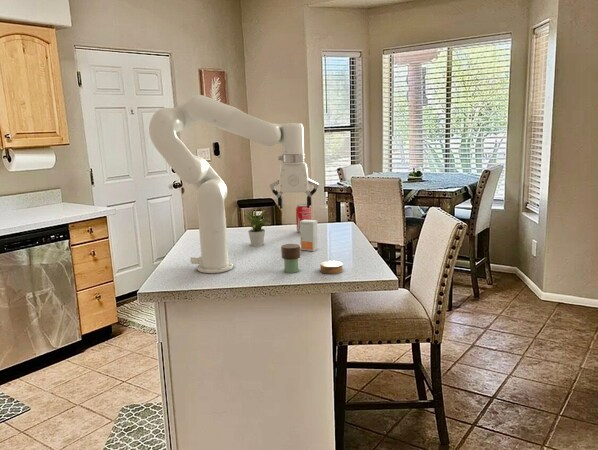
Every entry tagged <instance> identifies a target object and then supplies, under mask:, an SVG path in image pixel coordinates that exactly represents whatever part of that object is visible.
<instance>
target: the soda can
mask: <svg viewBox="0 0 598 450" xmlns="http://www.w3.org/2000/svg"><path fill="white" fill-rule="evenodd" d="M295 219H296V220H295V222H296V231H297V232H298V233H299V234H300V221H302V220H312V206H310V208H307V203H298V204H296V207H295Z"/></svg>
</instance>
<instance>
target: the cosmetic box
mask: <svg viewBox="0 0 598 450" xmlns="http://www.w3.org/2000/svg"><path fill="white" fill-rule="evenodd" d="M318 233H319V232H318V220H317V219H316V220H315V219H311V220H302V221H300V233H299V234H300V235H299V237H300V240H299V241H300V251H308V252H309V251H310V252H315V251H317V250H318V249H319V246H318V245H319V241H318V239H319V238H318V237H319V235H318Z"/></svg>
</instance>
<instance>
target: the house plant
mask: <svg viewBox="0 0 598 450" xmlns="http://www.w3.org/2000/svg"><path fill="white" fill-rule="evenodd" d="M266 210H267V209H266V208H265V209H264V208H263V209H261V210H260V211H259V212H258V214H257V206H256V207H255V210H254V211H253V214H252V212H249V213H248V211H247V212H246V211H245V212H244V215H245V216H246V218H247V219H248V220H249V222H250V224H249V223H248V222H243V223H242V225H243V226H244V227H245V226H246V225H247V226H249V227H250V228H251V229H248V231H247V232H248V236H249V240H250V246H252V247H261V246H263V245H264V243H265V235H266V230H265V229H264V228H263V227H264V226H266V227H268V225H270V226H271V224H270V222H267V221H269V220H271V218H265V219H263V217H265V215H267V214H268V213H270V211H268V212H267V213H266V214H265V212H266ZM240 213H241V214H242V212H241V211H239V214H240Z"/></svg>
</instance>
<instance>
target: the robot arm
mask: <svg viewBox="0 0 598 450" xmlns="http://www.w3.org/2000/svg"><path fill="white" fill-rule="evenodd" d="M201 123H203V124H206V125H210V126H212V127H215V128H218V129H219V130H223V131H225V132H228V133H230V134H234V135H237V136H240V137H242V138H245V139H248V140H250V141H252V142H255V143H258V144H261V145H263V146H266V147H272V146H275V145H278V144H281V151H282V153H281V155H279V156H278V157H277V159H278V161H281V162H282V163H280V165H279V175H278V176H279V177H278V180H276V181H274V182H272V183H271V184H269V188H270V190H271V191H272V194H274V195H275V196H276V197H277V206H278V207H279V209H280V210H282V209H283V207H284V201H283V194H284V193H304V194H305V195H307V196H306V204H307V208H310V207H312V196H313V195H315V193H316V192H317V190H318V188H319V186H320V183H318V182H316V181H314V180H312V179H310V178H309V170H308V164H307V163H306V162H305V139H304V138H305V137H304V136H305V135H304V134H305V133H304V125H303V124H302V123H300V122H286V123H274V122H269V121H267V120H264V119H261V118H258V117H255V116H253V115H251V114H248V113H247V112H245V111H242V110H241V109H240V108H237V107H235V106H232V105H229V104H227V103H225V102H224V103H223V101H222V102H221V101H218V100H216V99H214V98H211V97H208V96H206V95H203V94H193V95H191V96H190V97H189V98H188V100H187V101H186V102H184V103H182V104H179V105H177V106H174V107H162V108H160V109H158V110H156V111H155V112H154V113H153V115H152V116H151V119H150V122H149V126H148V135H149V138H150V140H151V143H152V145H153V146H154V148H155V149H156V150H157V152H158V153H159V154H160V155H161V157H162V158H163V159H164V160H165V161H166V163H167V164H168V165H169V167H170V168H171V169H172V170H173V171H174V172H175V174H176V175H177V176H178V178H179V179H180V180H181V181H182V182H183V183H184V184H187V185H192V186H193V187H194V188H195V189H196V193H195V205H196V209H197V219H198V228H199V229H198V230H199V231H198V232H199V243H200V244H199V245H200V256H199V257H193V256H191V257H190V259H189V260H190V261H189V262H190V263H191V264H192V265H196V264H197V265H198V266H197V271H198V272H199V273H204V274H219V273H224V272H228V271H230V270H232V269H233V268H234V264H233V263H232V262H231V261H229V249H228V248H229V247H228V234H227V218H226V209H225V200H226V198H227V196H228V188H227V185H226V184H225V182H224V181H223V178H221V177H220V175H219V174H218V173H217V172H216V171H215V170H214V168H213V167H212V166H211V165H210V164H209V162H208V161H206V159H205V158H203V157H202V156H199V155H195V154H193V153H192V152H191V151H190V149H189V148H188V147H187V145H186V144H185V143H184V142H183V141H182V140H181V139H180V138H179V137H178V135H177V133H179V132H182V131H185V130H187V129H189V128H191V127H194V126H196V125H198V124H201ZM310 185H311V186H313V189H312V190H310V189H309V186H310ZM276 186H278V190H279V191H278V190H277V189H276Z"/></svg>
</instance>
